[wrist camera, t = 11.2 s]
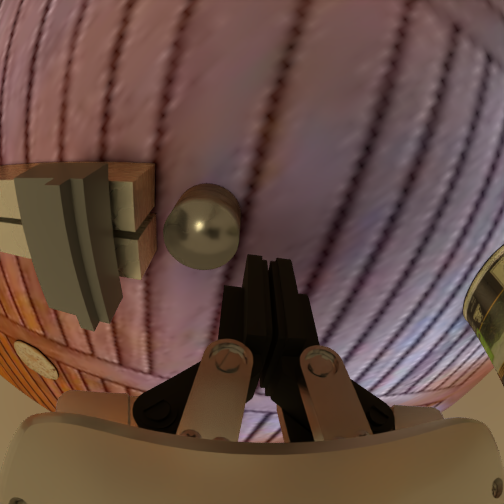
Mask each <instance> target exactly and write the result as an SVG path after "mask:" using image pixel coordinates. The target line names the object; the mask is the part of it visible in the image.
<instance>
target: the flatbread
mask: <svg viewBox="0 0 504 504" xmlns="http://www.w3.org/2000/svg"><path fill="white" fill-rule="evenodd" d="M14 347H15V350H16V352H17V354H18V355H19V357H20V358H21V359H22V361H23V362H24V363H25V364H26V365H27V366H28V367H29V368H31V369H32V370H34V371H36V372H37V373H39V374H41V375H42V376H44V377H46V378H50V379H55V380H56V379H58V373H57V371H56V369H55V367H54V366H53V365H52V364H51V362H50V361H49V360H48V359H47V358H46V357H45V356H44V355H43V354H42V353H41V352H39V351H38V350H37V349H35V348H33V347H31V346H30V345H28V344H26V343H24V342H21V341H16V342H15V343H14Z"/></svg>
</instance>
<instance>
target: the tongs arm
mask: <svg viewBox="0 0 504 504" xmlns="http://www.w3.org/2000/svg"><path fill="white" fill-rule="evenodd" d="M48 163H108V178H109V196H110V209H111V220H112V229H115V230H124V231H132V232H135V231H136V230H137V229H138V227H139V226H140V225H141V223H142V222H143V221H144V219H145V218H146V217H147V215H148V214H149V213H150V211H151V210H152V209H153V207H154V206H155V164H152V163H131V162H48ZM38 164H40V163H29V164H15V165H4V166H0V217H6V218H15V219H21V217H20V212H19V207H18V202H17V196H16V190H15V184H14V178H15V177H17V176H18V175H20V174H22V173H24V172H25V171H27V170H29V169H31V168H33V167H34V166H36V165H38Z"/></svg>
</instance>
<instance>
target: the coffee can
mask: <svg viewBox="0 0 504 504" xmlns="http://www.w3.org/2000/svg"><path fill="white" fill-rule="evenodd" d="M463 314H464V317H465V319H466V321H467V322H468V323H469V324H470V326H471V327H472V329H473V331H474V332H475V334H476V335H477V337H478V339H479V340H480V342H481V344H482V345H483V347H484V349H485V351H486V353H487V354H488V356H489V358H490V360H491V362H492V364H493V366H494V367H495V370H496V371H497V374H498V376H499V378H500V380H501V381H502V384H503V386H504V245H503V246H502V247H501V248H500V249H499V250H497V251H496V252H495V253H494V254H493V255H492V256H491V258H490V259H489V260H488V261H487V262H486V263H485V265H484V266H483V268H482V269H481V270H480V272H479V273H478V275H477V276H476V278H475V279H474V281H473V283H472V285H471V287H470V289H469V291H468V293H467V296H466V298H465V301H464V307H463Z"/></svg>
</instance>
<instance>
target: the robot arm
mask: <svg viewBox="0 0 504 504" xmlns="http://www.w3.org/2000/svg"><path fill="white" fill-rule="evenodd" d="M259 378H260V387H261V388H265V396H271V400H272V401H274V402H275V403H276V404H277V413H278V417H279V422H280V426H281V430H282V434H283V439H284V443H252V442H238V438H239V433H240V428H241V423H242V418H243V413H244V408H245V403H247V402H248V401H249V400H251V399H252V398H253V395H254V392H255V389H256V387H257V384H258V381H259ZM0 504H504V467H503V464H502V460H501V456H500V453H499V450H498V447H497V445H496V442H495V440H494V437H493V435H492V434H491V431H490V430H489V428H488V427H487V426H486V425H485V424H484V423H482V422H480V421H478V420H474V419H469V418H461V417H457V418H447V419H444V418H443V415H442V414H441V412H440V411H439V410H437V409H436V408H433V407H418V406H402V405H393V406H392V407H389V406H388V405H387V404H386V403H385V402H383V401H382V400H380V399H379V398H377V397H376V396H374V395H373V394H372V393H370V392H369V391H367V390H366V389H364V388H363V387H361V386H360V385H358V384H357V383H356V382H354V381H353V380H351V379H350V377H349V375H348V372H347V370H346V368H345V365H344V363H343V361H342V359H341V358H340V356H339V355H338V354H337V353H336V352H335V351H334V350H332V349H330V348H328V347H325V346H320V345H319V341H318V336H317V332H316V327H315V323H314V318H313V314H312V310H311V306H310V301H309V298H308V295H307V294H298V290H297V285H296V280H295V275H294V271H293V266H292V261H291V260H290V259H282V258H276V261H271V262H270V266H269V270H268V265H267V260H262V256H258V255H250V254H248V255H247V261H246V267H245V273H244V279H243V285H242V287H233V286H225V285H224V293H223V301H222V309H221V318H220V326H219V335H218V340H217V341H214V342H212V343H211V344H210V345H208V346H207V348H206V350H205V351H204V354H203V357H202V360H201V361H200V362H199V363H197V364H195V365H193V366H192V367H190V368H188V369H186V370H185V371H183V372H181V373H179V374H178V375H176V376H174V377H172V378H170V379H169V380H167V381H165V382H163V383H161V384H159V385H158V386H156V387H154V388H152V389H150V390H148V391H146V392H144V393H143V394H141V395H140V396H129V395H128V394H126V393H105V392H91V391H80V390H69V391H67V392H65V393H63V394H62V395H61V396H60V397H59V399H58V402H57V406H56V412H48V413H41V414H35V415H32V416H30V417H28V418H27V419H25V420H24V421H23V422H22V423H21V424H20V426H19V427H18V428H17V430H16V432H15V434H14V436H13V438H12V440H11V442H10V444H9V446H8V449H7V452H6V454H5V457H4V460H3V464H2V467H1V471H0Z"/></svg>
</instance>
